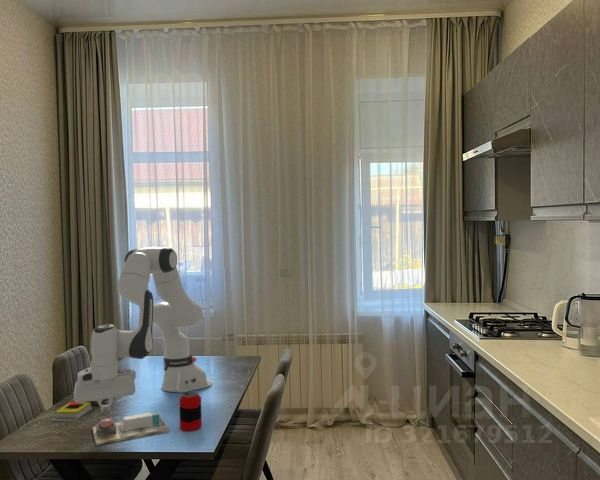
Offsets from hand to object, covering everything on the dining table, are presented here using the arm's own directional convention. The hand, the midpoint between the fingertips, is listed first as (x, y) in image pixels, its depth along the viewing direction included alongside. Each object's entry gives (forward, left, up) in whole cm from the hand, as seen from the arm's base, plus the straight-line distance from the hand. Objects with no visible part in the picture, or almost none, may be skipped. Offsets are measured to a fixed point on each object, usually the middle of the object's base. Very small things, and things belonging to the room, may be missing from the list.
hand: (105, 410), depth 179 cm
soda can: (-28, +8, -9) cm, 30 cm away
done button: (0, 0, -7) cm, 7 cm away
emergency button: (+9, -29, -9) cm, 32 cm away
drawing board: (-8, 0, -9) cm, 12 cm away
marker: (-12, 0, -8) cm, 14 cm away
